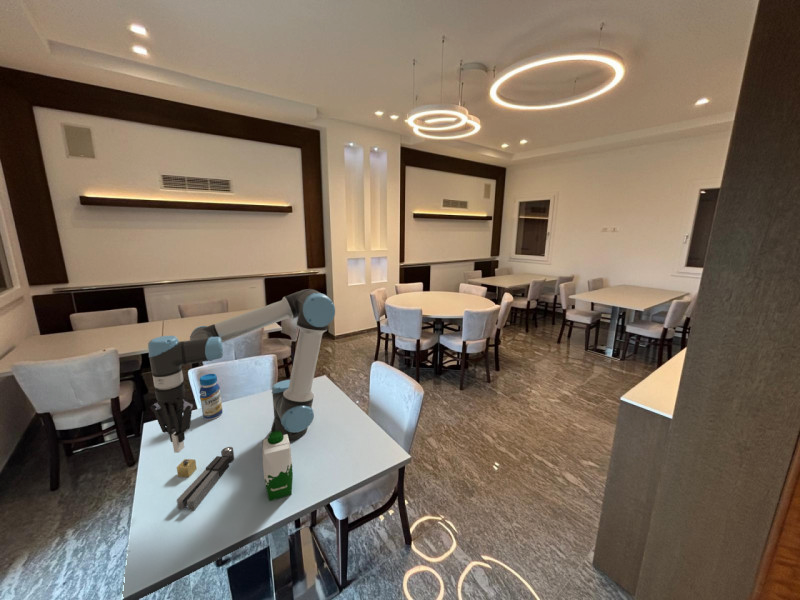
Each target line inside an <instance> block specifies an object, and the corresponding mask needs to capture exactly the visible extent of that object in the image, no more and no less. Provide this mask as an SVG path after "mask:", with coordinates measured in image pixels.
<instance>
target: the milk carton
mask: <svg viewBox="0 0 800 600" xmlns="http://www.w3.org/2000/svg"><path fill="white" fill-rule="evenodd" d="M262 443H263V444H262V457H261V459H262V467H263V468H262V469H263V477H264V486H265V490H266V494H267V496H268V497H267V498H268V501H269V502H271V501H274V500H279V499H281V498H284V497H289V496H291V495H292V493H293V492H292V491H293V479H294V478H293V476H294V475H293V460H292V459H293V458H292V447H291V441H289V438H288V435H287V434H286V435H282V433H281V431H274V432H272V433H271V432H270V433H269V435H268V438H264V439H263V442H262Z"/></svg>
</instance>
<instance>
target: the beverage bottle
mask: <svg viewBox="0 0 800 600" xmlns="http://www.w3.org/2000/svg"><path fill="white" fill-rule="evenodd" d="M217 382H218V377H217V375H216V373H208V374H207V373H206V374H204V375H202V376H200V377H199V384H200V386H201V387H200V388H199V394H200V395H199V399H200V405H201V413H202V418H203V419H204V420H206V421H207V420H208V421H209V420H214V419H218V418H219V417H220V416H222V414H223V412H224V411H223V410H224V409H223V405H222V393H221V387H220V384H218V383H217Z"/></svg>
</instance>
